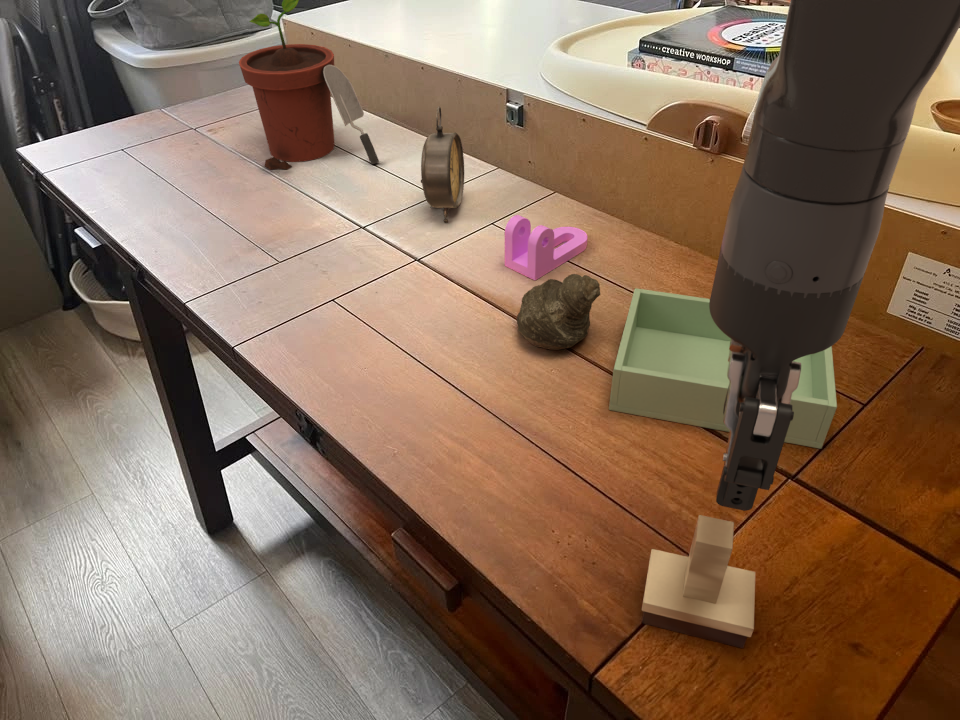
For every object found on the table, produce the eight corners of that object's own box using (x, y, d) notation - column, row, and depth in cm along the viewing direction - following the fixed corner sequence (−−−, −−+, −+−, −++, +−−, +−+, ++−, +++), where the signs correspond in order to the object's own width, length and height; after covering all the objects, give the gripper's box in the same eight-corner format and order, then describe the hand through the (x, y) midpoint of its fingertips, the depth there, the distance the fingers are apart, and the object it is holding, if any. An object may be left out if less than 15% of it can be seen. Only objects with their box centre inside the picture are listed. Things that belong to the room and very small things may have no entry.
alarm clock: (454, 227, 114) (449, 122, 104) (419, 225, 115) (411, 120, 104) (467, 194, 122) (463, 93, 112) (434, 192, 123) (427, 92, 113)
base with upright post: (747, 594, 64) (774, 516, 58) (745, 651, 60) (774, 574, 54) (647, 571, 66) (662, 492, 60) (638, 624, 62) (654, 547, 56)
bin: (816, 356, 88) (829, 315, 85) (821, 449, 77) (837, 407, 73) (629, 327, 94) (634, 287, 90) (608, 410, 82) (613, 368, 78)
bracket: (535, 280, 102) (536, 234, 98) (504, 265, 105) (504, 220, 101) (594, 244, 109) (598, 200, 105) (564, 231, 112) (566, 187, 108)
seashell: (570, 339, 82) (633, 302, 87) (509, 252, 84) (573, 221, 89) (531, 377, 92) (589, 342, 96) (477, 299, 94) (536, 269, 98)
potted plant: (337, 123, 147) (316, -18, 131) (380, 164, 132) (363, 10, 116) (246, 142, 140) (213, -4, 125) (281, 188, 125) (249, 29, 110)
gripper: (880, 337, 35) (795, 553, 45) (857, 199, 46) (792, 399, 56) (714, 312, 37) (668, 525, 47) (728, 185, 48) (688, 381, 58)
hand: (735, 457), depth 52 cm, fingers open, 8 cm apart
